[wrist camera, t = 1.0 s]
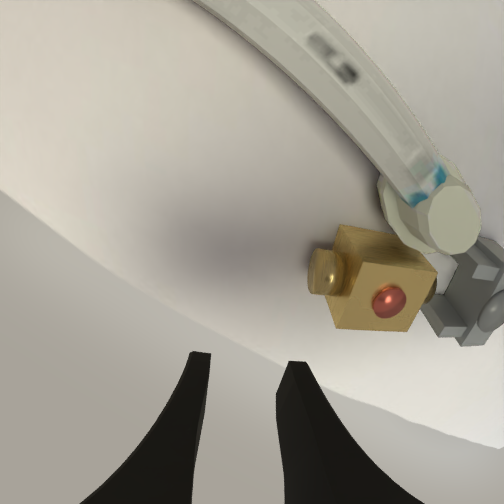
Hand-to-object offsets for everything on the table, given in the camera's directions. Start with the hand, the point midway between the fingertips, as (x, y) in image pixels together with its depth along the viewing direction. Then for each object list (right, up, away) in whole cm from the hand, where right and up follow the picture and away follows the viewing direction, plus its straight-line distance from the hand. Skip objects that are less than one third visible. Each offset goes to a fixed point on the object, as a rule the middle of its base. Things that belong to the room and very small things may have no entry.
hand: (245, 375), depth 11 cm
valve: (+8, +4, +10) cm, 13 cm away
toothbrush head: (+3, +14, +4) cm, 15 cm away
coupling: (+17, +3, +10) cm, 20 cm away
